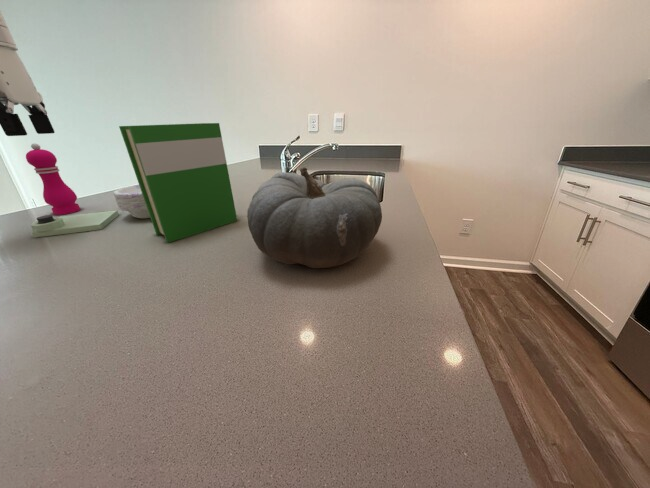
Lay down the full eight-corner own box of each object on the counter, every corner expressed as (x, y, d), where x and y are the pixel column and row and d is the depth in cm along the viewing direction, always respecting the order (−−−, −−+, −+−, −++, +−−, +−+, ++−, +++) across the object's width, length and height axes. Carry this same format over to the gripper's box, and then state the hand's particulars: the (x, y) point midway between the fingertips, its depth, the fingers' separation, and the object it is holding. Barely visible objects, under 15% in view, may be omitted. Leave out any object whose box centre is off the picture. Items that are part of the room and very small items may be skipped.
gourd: (258, 218, 63) (260, 144, 54) (357, 228, 67) (373, 160, 58) (237, 286, 42) (233, 184, 33) (382, 295, 46) (414, 206, 37)
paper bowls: (172, 202, 87) (165, 179, 83) (190, 212, 77) (183, 186, 73) (118, 214, 77) (107, 188, 73) (130, 227, 67) (118, 197, 64)
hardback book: (168, 242, 58) (129, 126, 47) (156, 234, 63) (118, 126, 52) (237, 220, 70) (219, 123, 59) (223, 214, 74) (204, 123, 64)
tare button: (36, 225, 63) (33, 219, 62) (43, 221, 65) (40, 215, 64) (51, 223, 63) (47, 217, 63) (57, 220, 66) (54, 214, 65)
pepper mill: (46, 214, 79) (9, 144, 70) (74, 207, 85) (43, 142, 76) (60, 216, 76) (23, 144, 68) (87, 209, 82) (57, 142, 74)
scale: (31, 238, 62) (24, 227, 61) (59, 221, 73) (54, 211, 71) (101, 229, 66) (96, 218, 65) (119, 214, 77) (115, 205, 75)
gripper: (-5, 47, 56) (36, 133, 63) (-90, 21, 41) (-22, 137, 49) (38, 49, 58) (73, 132, 65) (-28, 24, 43) (28, 135, 51)
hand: (32, 134), depth 57 cm, fingers open, 9 cm apart
